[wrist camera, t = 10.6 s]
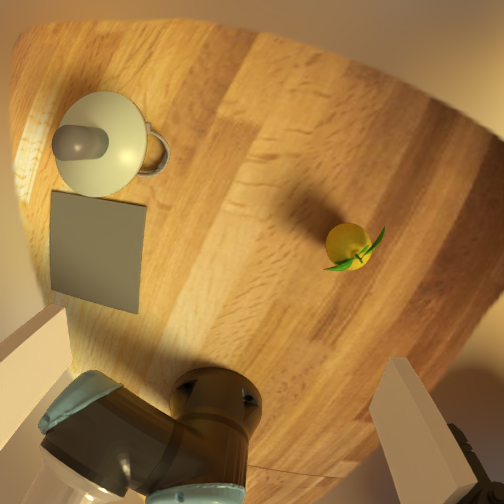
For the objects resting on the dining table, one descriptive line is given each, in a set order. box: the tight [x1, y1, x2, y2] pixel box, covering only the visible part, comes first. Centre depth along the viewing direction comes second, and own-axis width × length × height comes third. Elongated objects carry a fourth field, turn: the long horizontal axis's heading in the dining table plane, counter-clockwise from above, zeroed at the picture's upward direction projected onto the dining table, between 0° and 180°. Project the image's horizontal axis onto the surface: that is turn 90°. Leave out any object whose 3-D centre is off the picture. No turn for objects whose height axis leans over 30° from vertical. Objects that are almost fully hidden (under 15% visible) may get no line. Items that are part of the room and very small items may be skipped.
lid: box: [52, 91, 148, 197], centre depth 29 cm, size 12×12×7 cm
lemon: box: [323, 223, 385, 271], centre depth 37 cm, size 7×6×10 cm
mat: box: [50, 191, 147, 314], centre depth 43 cm, size 16×16×1 cm
